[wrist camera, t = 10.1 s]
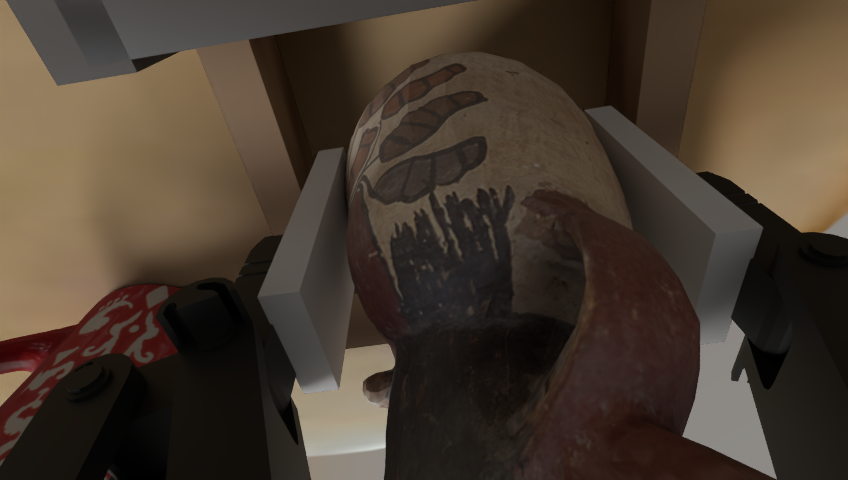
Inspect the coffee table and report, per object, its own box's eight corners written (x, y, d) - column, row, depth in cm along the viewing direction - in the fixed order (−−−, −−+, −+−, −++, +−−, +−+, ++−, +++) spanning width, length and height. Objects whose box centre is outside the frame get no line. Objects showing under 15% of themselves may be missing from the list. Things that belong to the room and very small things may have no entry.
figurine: (314, 202, 15) (122, 757, 5) (423, -10, 11) (563, 339, 1) (490, 283, 17) (614, 775, 7) (624, 125, 14) (1239, 635, 4)
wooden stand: (139, -204, 11) (-249, -414, 5) (705, -320, 10) (1230, -780, 4) (329, 312, 21) (294, 480, 15) (624, 272, 20) (728, 430, 14)
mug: (305, 328, 22) (199, 734, 11) (219, 415, 25) (73, 785, 14) (23, 179, 17) (-727, 642, 6) (-34, 313, 21) (-558, 756, 9)
